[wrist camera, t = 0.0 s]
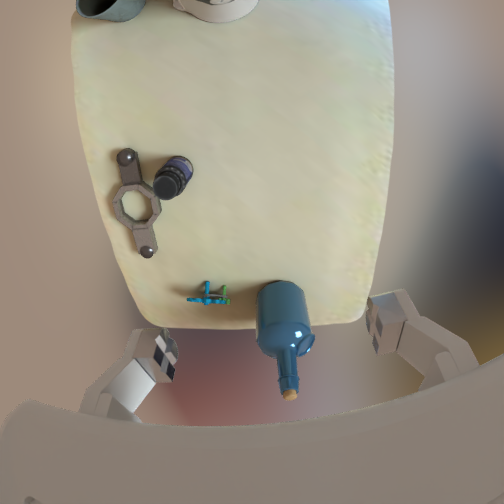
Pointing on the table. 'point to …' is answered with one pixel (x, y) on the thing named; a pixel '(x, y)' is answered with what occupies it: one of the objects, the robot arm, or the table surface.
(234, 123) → the table surface
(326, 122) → the table surface
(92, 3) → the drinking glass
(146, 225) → the octagon ring handle
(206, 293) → the blue jointed connector toy
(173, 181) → the pill bottle
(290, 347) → the wine bottle
